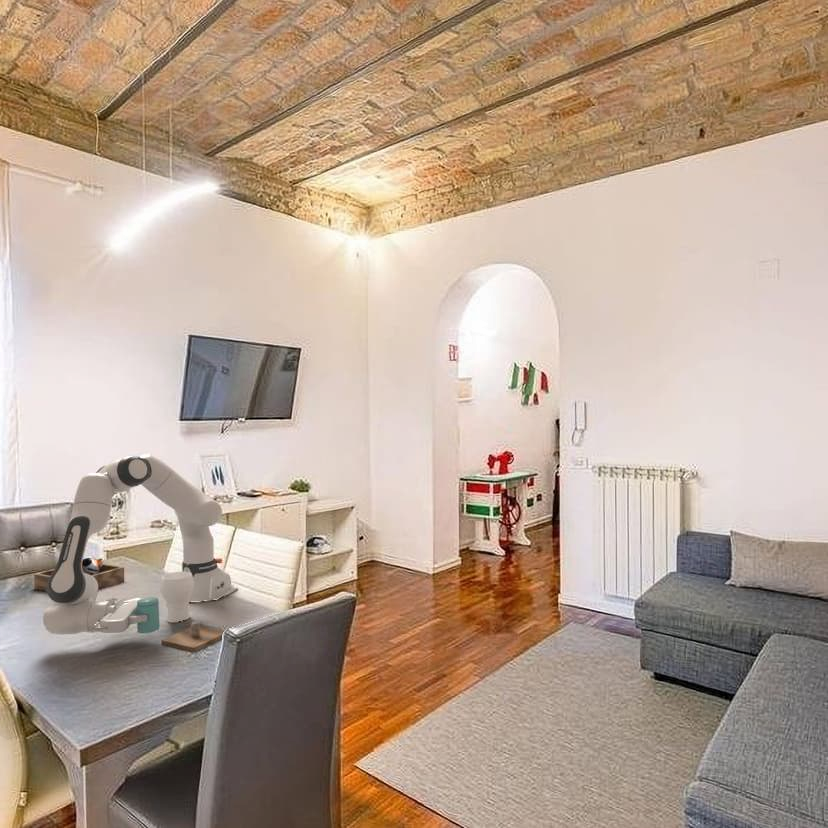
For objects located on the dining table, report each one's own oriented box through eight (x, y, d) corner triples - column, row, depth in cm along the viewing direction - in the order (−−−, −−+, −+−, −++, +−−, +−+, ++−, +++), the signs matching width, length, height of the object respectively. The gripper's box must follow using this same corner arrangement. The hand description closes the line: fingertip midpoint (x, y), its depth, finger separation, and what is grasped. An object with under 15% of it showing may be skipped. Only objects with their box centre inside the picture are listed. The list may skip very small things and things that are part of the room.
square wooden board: (196, 628, 195) (196, 612, 195) (228, 635, 189) (228, 619, 189) (161, 644, 182) (160, 627, 182) (194, 651, 176) (194, 634, 176)
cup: (174, 626, 197) (173, 581, 197) (154, 620, 203) (153, 577, 202) (201, 616, 206) (200, 573, 206) (181, 611, 212) (180, 569, 211)
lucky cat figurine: (82, 576, 257) (98, 548, 257) (96, 591, 251) (113, 562, 252) (49, 575, 243) (66, 545, 244) (64, 591, 238) (82, 560, 239)
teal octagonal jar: (150, 624, 187) (149, 596, 187) (163, 627, 184) (162, 598, 184) (133, 631, 181) (132, 602, 181) (147, 634, 179) (146, 604, 178)
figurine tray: (86, 574, 261) (86, 560, 260) (124, 581, 249) (124, 567, 249) (34, 588, 241) (34, 574, 240) (73, 596, 229) (72, 581, 229)
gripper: (89, 618, 170) (140, 615, 172) (114, 595, 191) (159, 592, 193) (90, 640, 171) (141, 636, 173) (115, 614, 191) (160, 611, 193)
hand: (151, 612), depth 183 cm, fingers closed on teal octagonal jar, 6 cm apart
